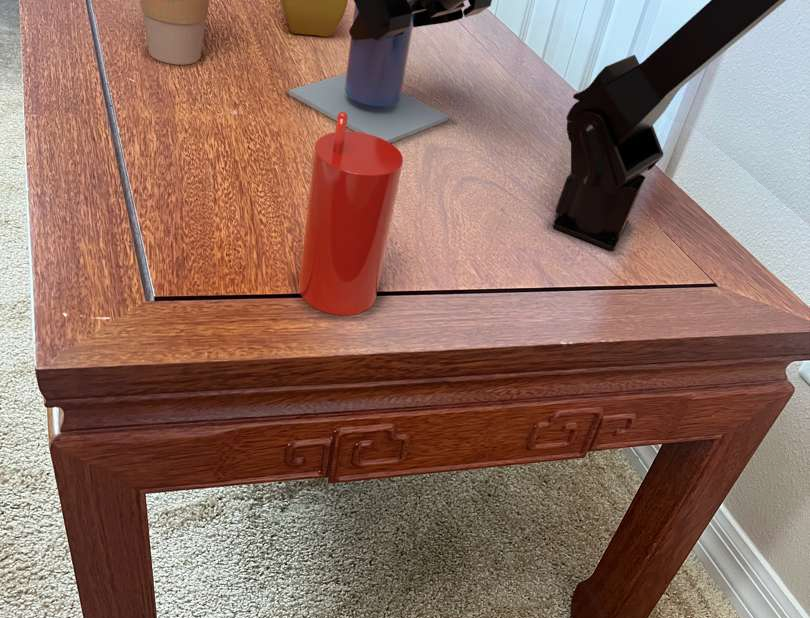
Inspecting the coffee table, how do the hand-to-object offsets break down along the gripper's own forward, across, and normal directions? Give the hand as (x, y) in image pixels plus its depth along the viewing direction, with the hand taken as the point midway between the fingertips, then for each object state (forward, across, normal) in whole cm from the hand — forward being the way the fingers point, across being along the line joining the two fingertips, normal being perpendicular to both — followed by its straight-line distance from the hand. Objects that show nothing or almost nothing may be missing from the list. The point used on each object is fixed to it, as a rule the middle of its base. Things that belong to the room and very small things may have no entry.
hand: (372, 30), depth 89 cm
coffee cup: (+20, +10, -8) cm, 24 cm away
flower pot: (+19, -11, -7) cm, 23 cm away
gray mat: (+5, 0, +7) cm, 8 cm away
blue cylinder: (+4, 0, +6) cm, 7 cm away
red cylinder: (-10, +29, +22) cm, 38 cm away
